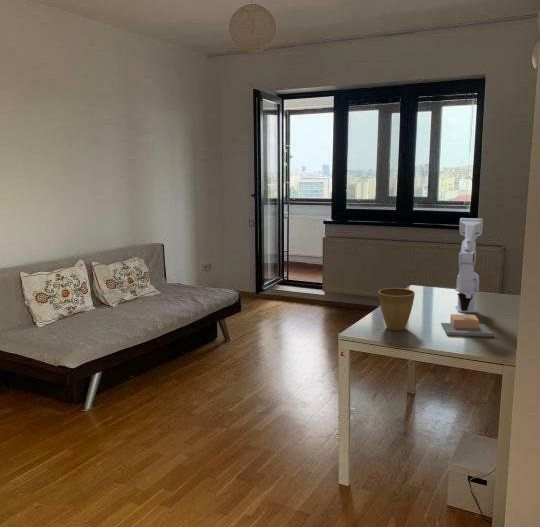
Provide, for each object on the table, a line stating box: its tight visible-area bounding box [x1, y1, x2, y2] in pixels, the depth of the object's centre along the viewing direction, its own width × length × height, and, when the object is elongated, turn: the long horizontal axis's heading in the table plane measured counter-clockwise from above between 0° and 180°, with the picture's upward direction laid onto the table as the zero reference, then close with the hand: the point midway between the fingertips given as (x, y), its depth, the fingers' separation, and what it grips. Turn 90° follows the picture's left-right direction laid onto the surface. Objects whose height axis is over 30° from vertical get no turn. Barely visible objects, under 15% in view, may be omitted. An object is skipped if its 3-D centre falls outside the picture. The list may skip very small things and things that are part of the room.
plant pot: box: [378, 287, 416, 332], centre depth 229 cm, size 15×15×16 cm
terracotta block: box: [449, 313, 480, 329], centre depth 230 cm, size 4×10×8 cm
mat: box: [440, 322, 495, 339], centre depth 226 cm, size 16×18×2 cm
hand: (464, 310), depth 231 cm, fingers closed
